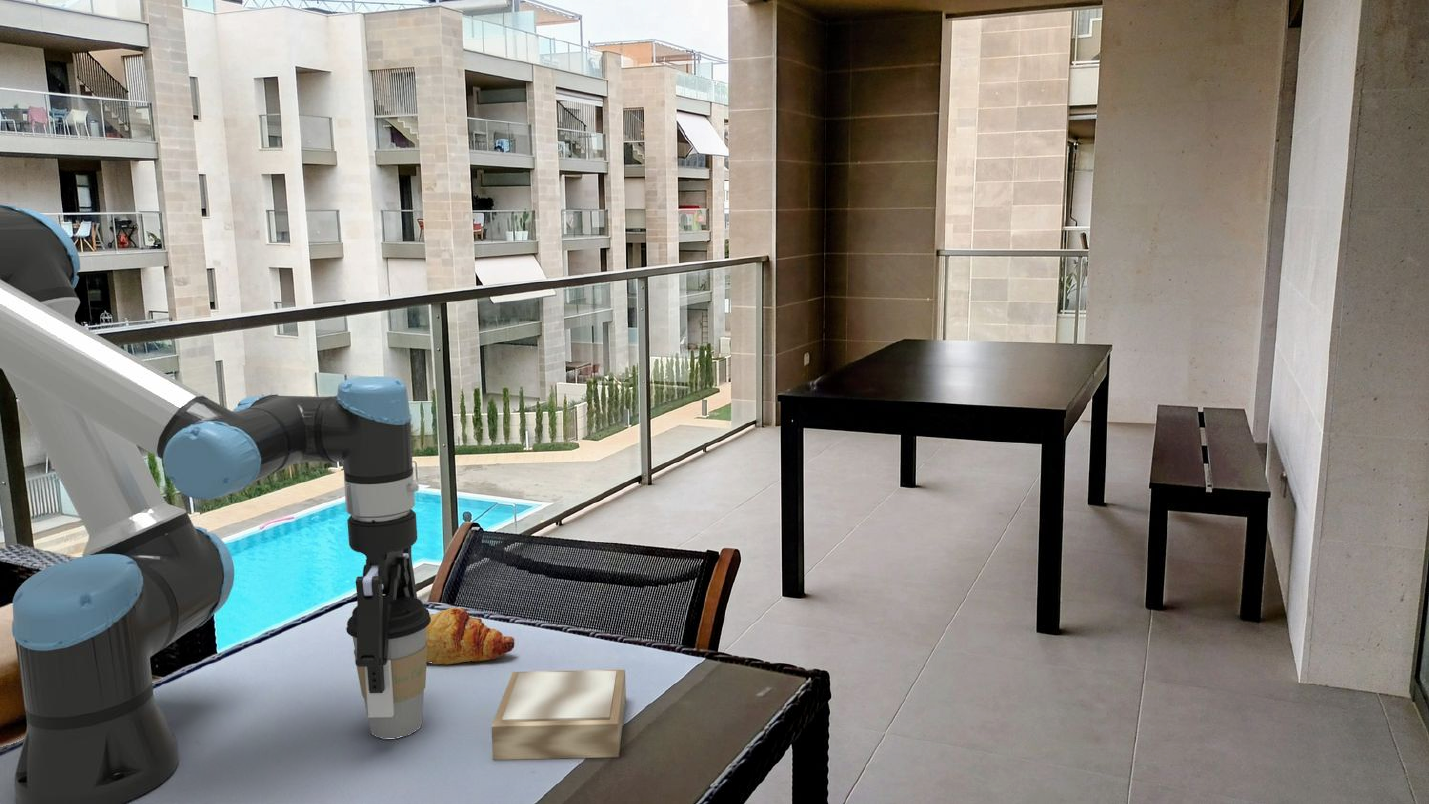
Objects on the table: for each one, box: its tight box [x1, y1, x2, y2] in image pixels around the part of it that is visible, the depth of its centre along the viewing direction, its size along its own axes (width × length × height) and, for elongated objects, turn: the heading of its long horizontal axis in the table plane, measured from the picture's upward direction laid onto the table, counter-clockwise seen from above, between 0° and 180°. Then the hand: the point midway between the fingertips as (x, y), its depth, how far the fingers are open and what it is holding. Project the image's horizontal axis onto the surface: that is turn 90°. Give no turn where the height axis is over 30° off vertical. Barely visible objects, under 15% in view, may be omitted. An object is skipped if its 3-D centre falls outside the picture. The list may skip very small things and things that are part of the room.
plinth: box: [491, 669, 627, 761], centre depth 119 cm, size 14×14×4 cm
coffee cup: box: [345, 596, 431, 738], centre depth 119 cm, size 9×9×15 cm
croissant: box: [426, 606, 515, 665], centre depth 141 cm, size 21×10×8 cm, turn 76°
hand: (393, 695), depth 119 cm, fingers closed on coffee cup, 9 cm apart
